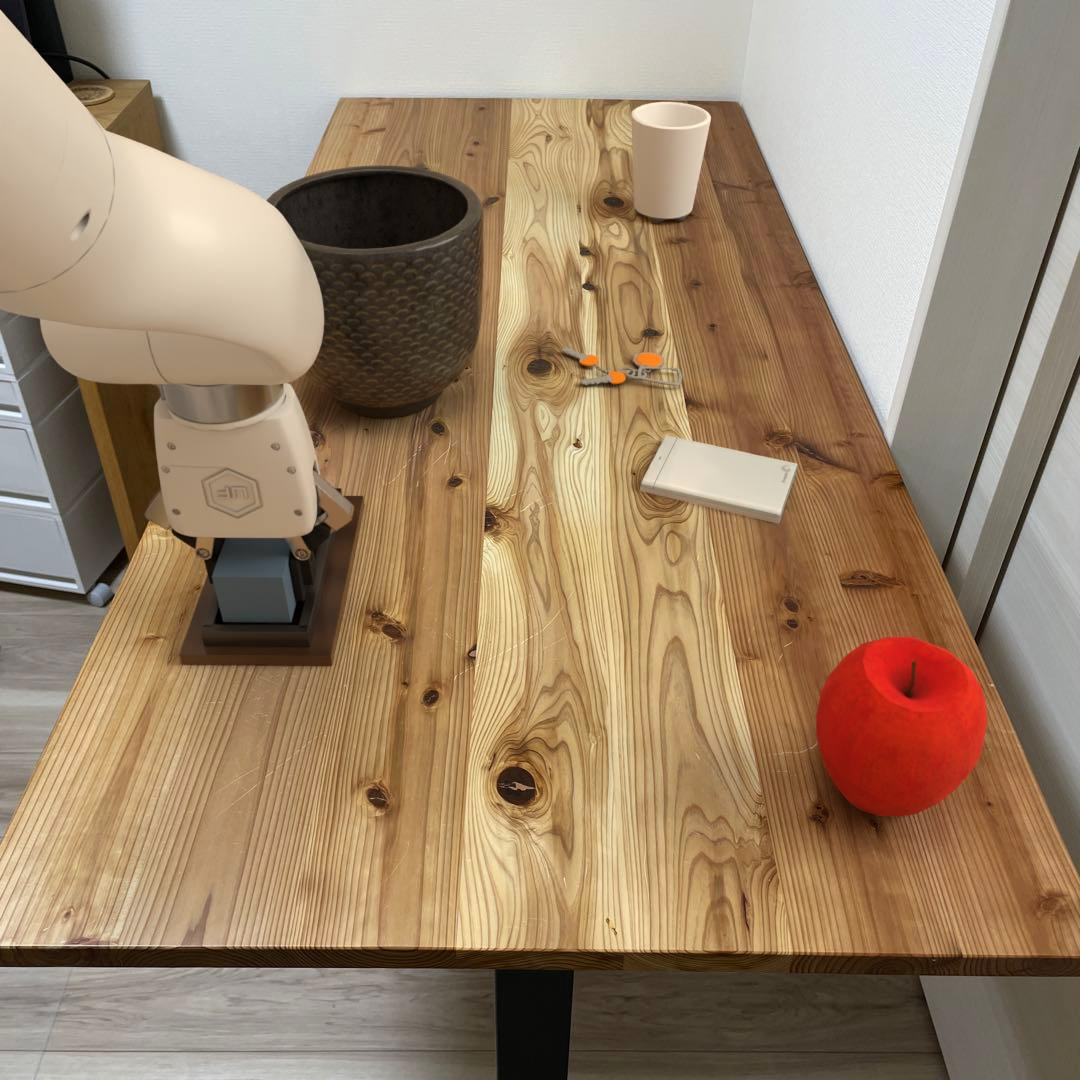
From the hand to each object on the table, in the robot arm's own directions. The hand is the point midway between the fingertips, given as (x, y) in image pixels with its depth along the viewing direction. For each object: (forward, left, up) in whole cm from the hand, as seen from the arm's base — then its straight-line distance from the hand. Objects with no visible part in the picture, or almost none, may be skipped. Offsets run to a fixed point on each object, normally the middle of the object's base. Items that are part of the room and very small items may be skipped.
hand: (265, 586), depth 80 cm
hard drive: (+32, -25, -4) cm, 41 cm away
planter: (+31, +10, -3) cm, 33 cm away
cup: (+84, +2, -3) cm, 84 cm away
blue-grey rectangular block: (0, 0, 0) cm, 0 cm away
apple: (+5, -45, -3) cm, 46 cm away
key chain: (+45, -9, -3) cm, 46 cm away
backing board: (+4, +2, -3) cm, 5 cm away
